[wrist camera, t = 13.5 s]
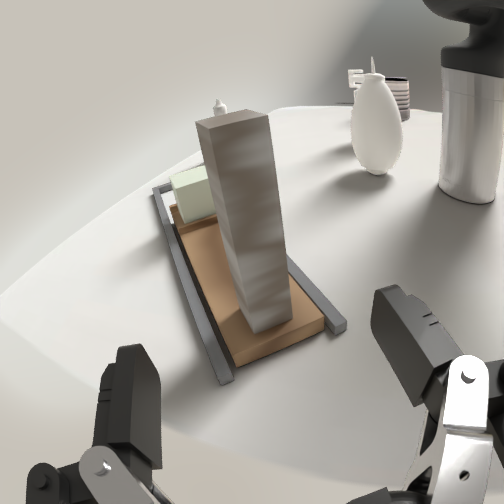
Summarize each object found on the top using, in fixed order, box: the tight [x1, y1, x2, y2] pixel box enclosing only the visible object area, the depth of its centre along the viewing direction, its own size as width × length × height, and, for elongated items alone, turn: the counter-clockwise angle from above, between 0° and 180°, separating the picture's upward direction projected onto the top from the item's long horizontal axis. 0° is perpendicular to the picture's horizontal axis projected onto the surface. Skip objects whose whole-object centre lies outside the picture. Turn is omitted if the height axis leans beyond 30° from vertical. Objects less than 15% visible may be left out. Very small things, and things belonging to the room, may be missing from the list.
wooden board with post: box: [169, 109, 324, 367], centre depth 28 cm, size 7×25×16 cm, turn 22°
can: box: [385, 77, 410, 121], centre depth 73 cm, size 11×11×12 cm
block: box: [169, 165, 216, 224], centre depth 37 cm, size 5×5×5 cm
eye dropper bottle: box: [213, 99, 228, 116], centre depth 57 cm, size 4×6×12 cm
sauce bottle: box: [351, 57, 403, 175], centre depth 40 cm, size 8×8×18 cm
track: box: [152, 182, 347, 385], centre depth 37 cm, size 10×39×1 cm, turn 22°
